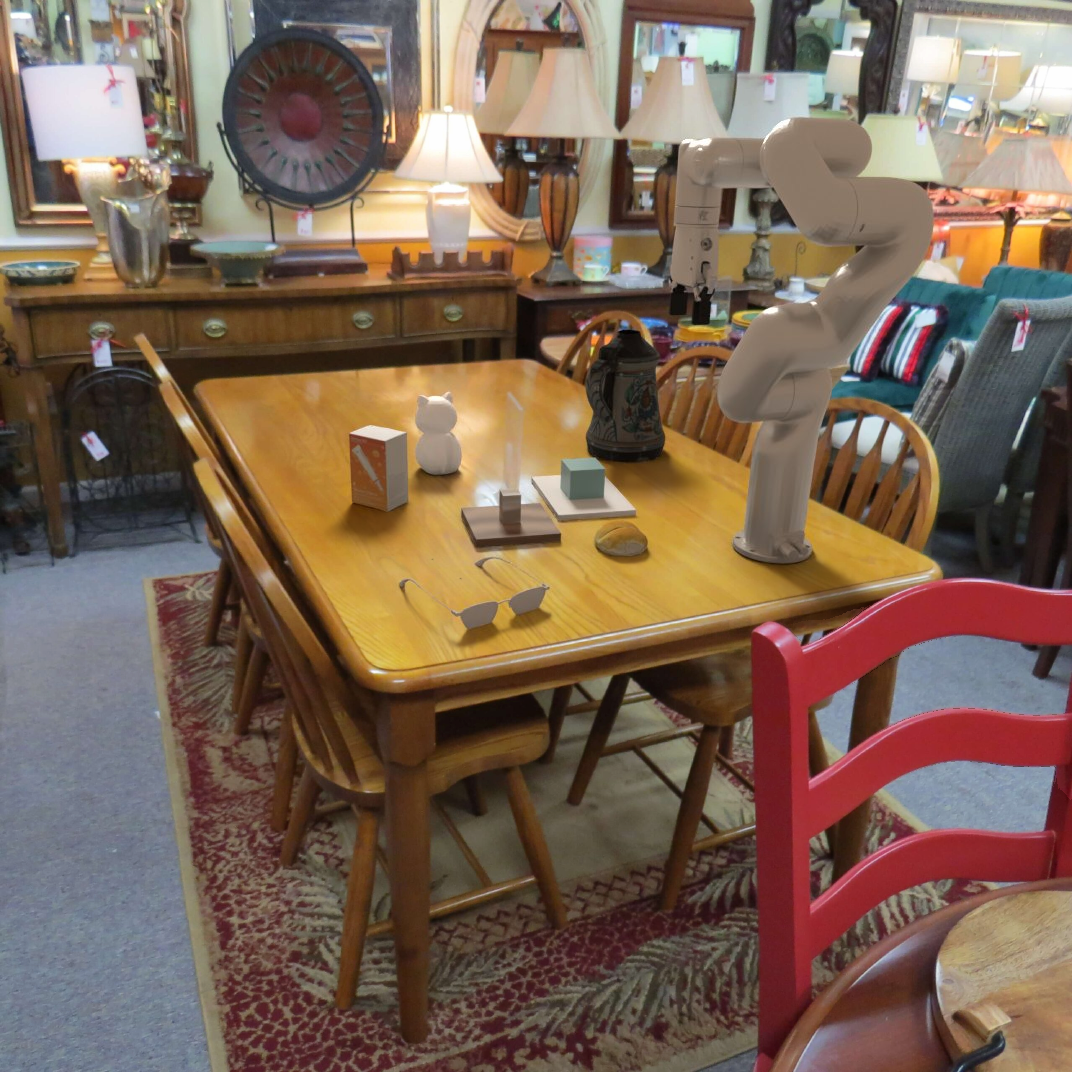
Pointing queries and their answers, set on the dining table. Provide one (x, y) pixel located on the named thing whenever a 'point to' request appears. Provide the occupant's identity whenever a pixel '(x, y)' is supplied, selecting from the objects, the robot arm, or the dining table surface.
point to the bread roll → (620, 539)
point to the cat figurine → (437, 435)
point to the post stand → (510, 522)
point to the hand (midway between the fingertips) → (688, 319)
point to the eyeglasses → (488, 610)
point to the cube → (582, 478)
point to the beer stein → (625, 401)
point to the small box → (379, 467)
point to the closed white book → (582, 501)
